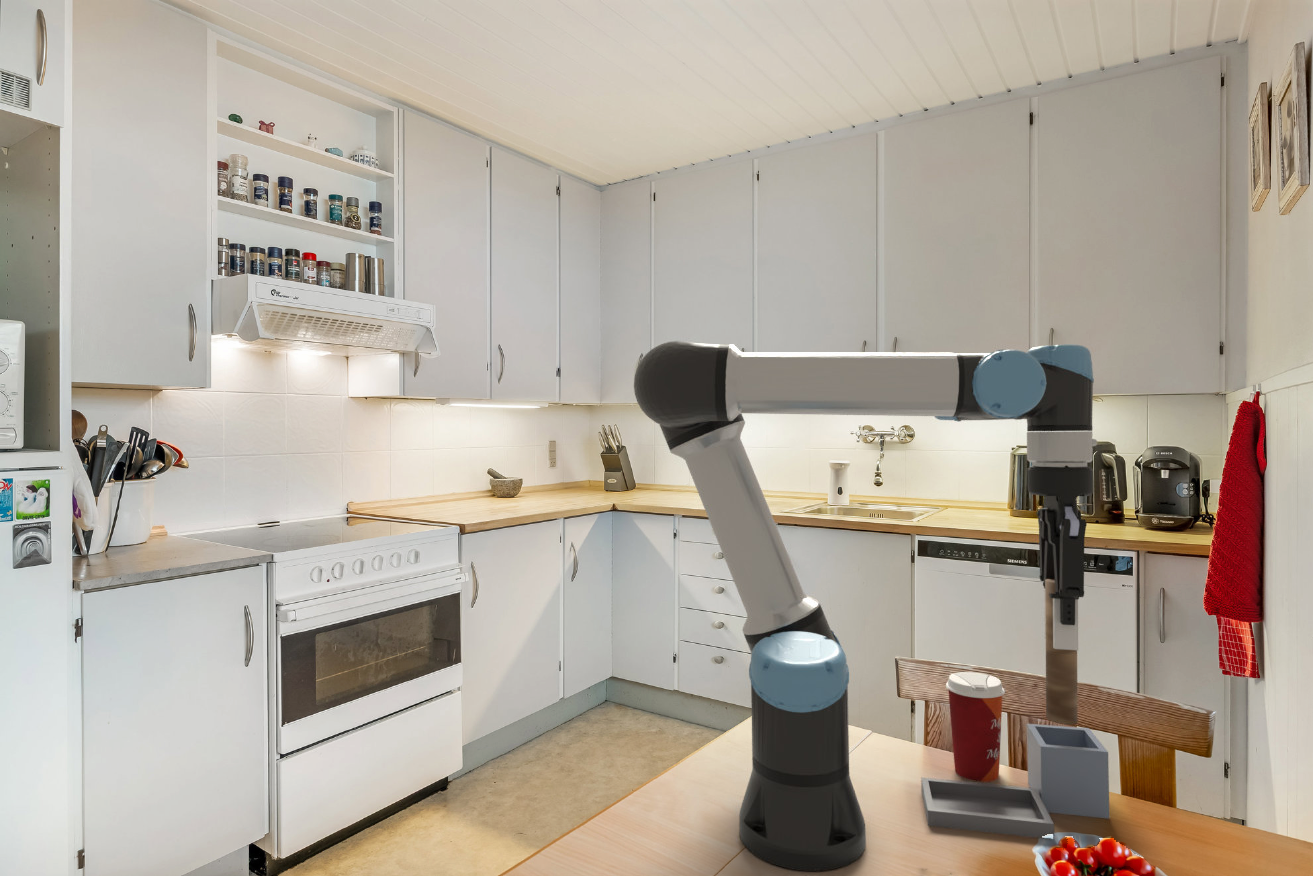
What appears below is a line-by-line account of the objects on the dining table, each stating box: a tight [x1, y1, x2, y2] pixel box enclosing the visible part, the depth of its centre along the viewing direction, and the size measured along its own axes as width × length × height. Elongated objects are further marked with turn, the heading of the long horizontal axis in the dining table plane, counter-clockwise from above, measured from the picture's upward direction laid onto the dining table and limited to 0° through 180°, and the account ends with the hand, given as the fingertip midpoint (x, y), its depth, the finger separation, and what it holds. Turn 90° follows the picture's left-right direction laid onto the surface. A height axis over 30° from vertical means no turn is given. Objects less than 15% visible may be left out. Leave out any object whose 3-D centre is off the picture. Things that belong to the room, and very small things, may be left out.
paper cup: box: [945, 671, 1006, 783], centre depth 103 cm, size 8×8×14 cm
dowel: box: [1044, 579, 1079, 725], centre depth 95 cm, size 4×4×18 cm
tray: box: [920, 777, 1055, 839], centre depth 92 cm, size 14×9×3 cm, turn 75°
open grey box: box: [1026, 723, 1110, 820], centre depth 95 cm, size 8×8×9 cm
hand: (1061, 643), depth 95 cm, fingers closed on dowel, 3 cm apart
